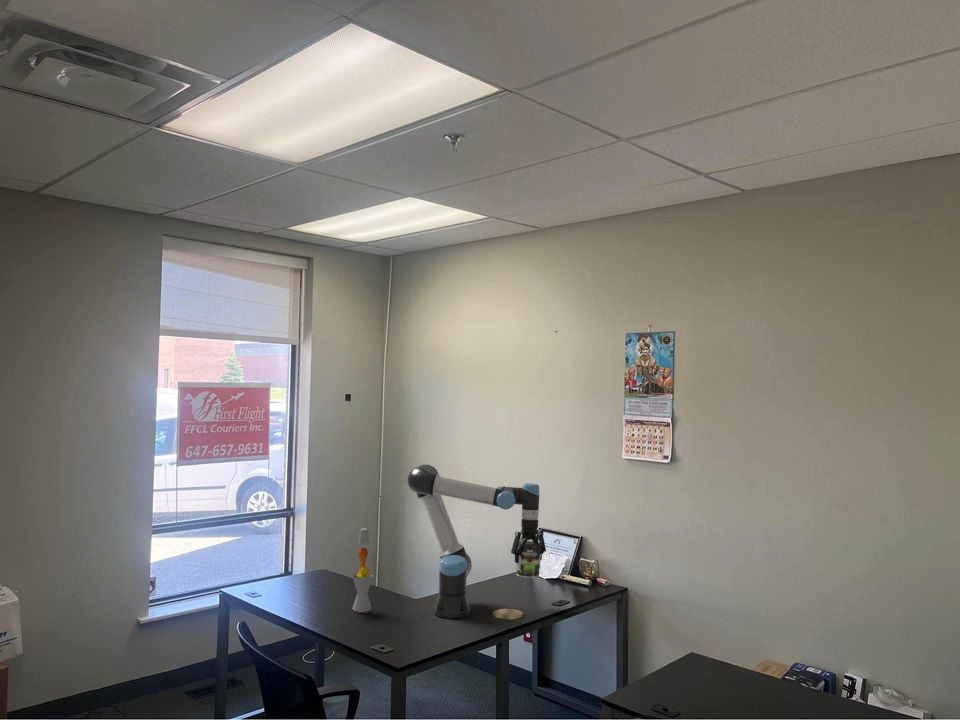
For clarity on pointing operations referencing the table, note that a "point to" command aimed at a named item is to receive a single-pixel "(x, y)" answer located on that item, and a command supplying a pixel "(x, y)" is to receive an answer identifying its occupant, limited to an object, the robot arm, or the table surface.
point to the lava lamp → (362, 576)
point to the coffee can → (529, 560)
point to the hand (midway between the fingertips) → (527, 569)
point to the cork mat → (508, 614)
